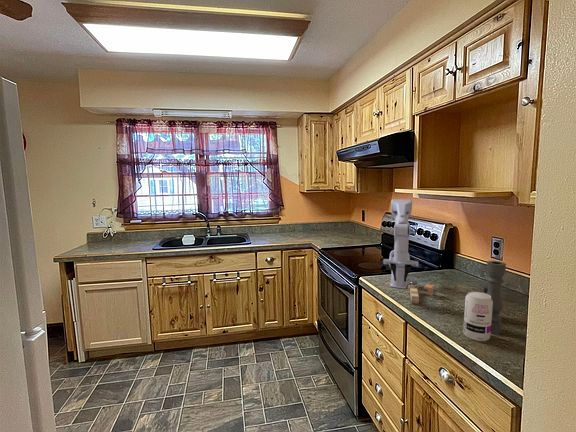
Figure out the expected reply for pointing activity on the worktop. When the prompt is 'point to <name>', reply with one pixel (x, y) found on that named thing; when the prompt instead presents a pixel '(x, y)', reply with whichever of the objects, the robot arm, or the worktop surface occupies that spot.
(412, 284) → the pintle
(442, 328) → the worktop surface
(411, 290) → the link
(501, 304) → the candle holder
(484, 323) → the supplement can
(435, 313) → the worktop surface
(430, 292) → the keeper
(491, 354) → the worktop surface
